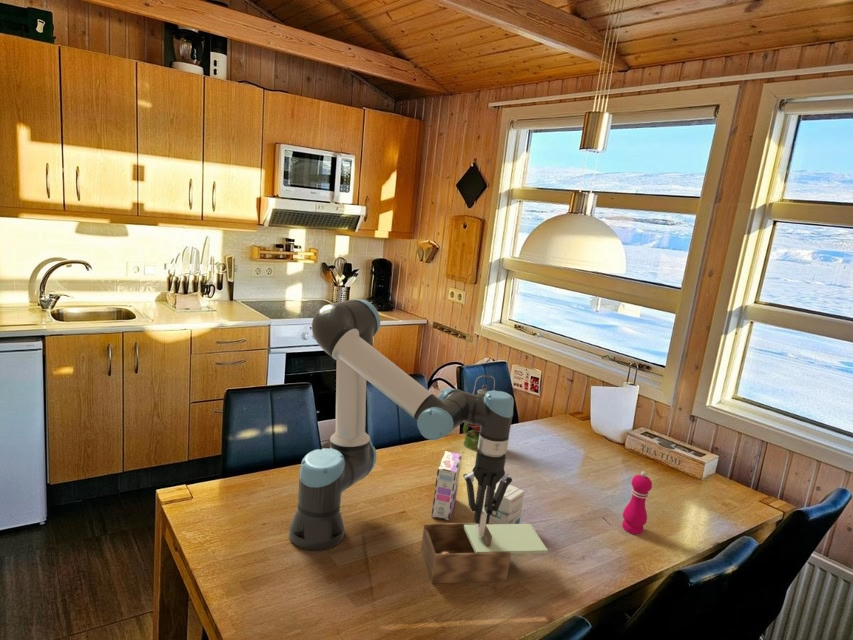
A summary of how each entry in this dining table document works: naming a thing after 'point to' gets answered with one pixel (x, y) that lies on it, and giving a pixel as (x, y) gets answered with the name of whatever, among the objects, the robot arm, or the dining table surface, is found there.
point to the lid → (506, 539)
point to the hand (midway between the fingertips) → (479, 533)
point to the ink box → (508, 506)
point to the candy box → (446, 485)
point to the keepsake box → (459, 556)
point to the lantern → (473, 435)
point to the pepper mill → (637, 505)
